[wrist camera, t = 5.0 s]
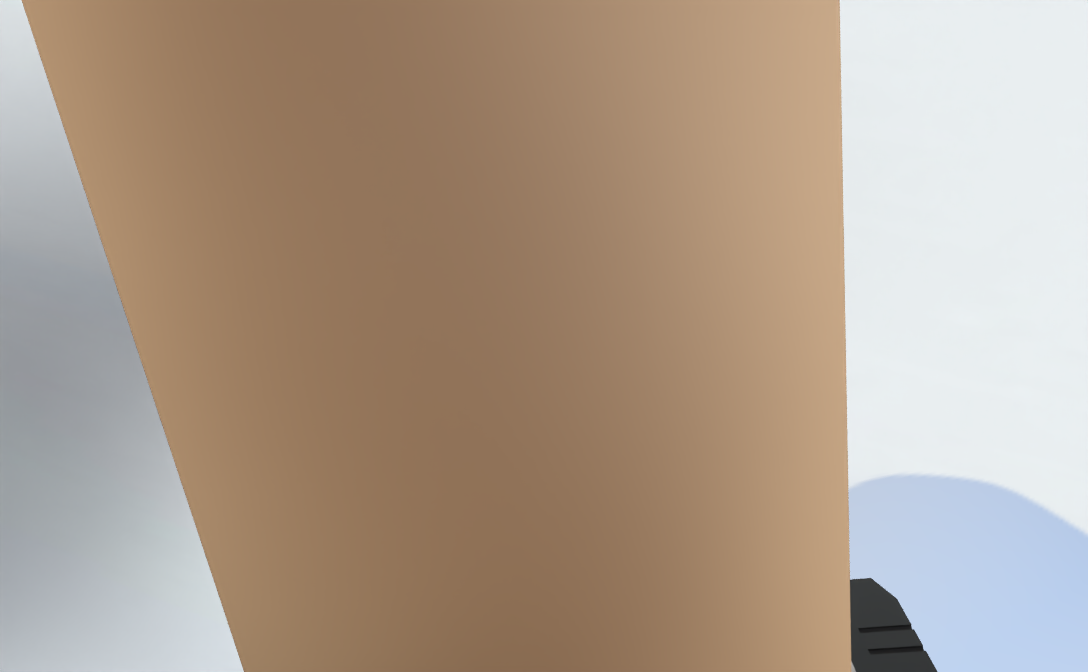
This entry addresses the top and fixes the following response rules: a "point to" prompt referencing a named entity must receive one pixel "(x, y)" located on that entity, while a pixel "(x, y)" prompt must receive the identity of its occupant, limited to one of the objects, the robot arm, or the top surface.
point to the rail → (486, 319)
